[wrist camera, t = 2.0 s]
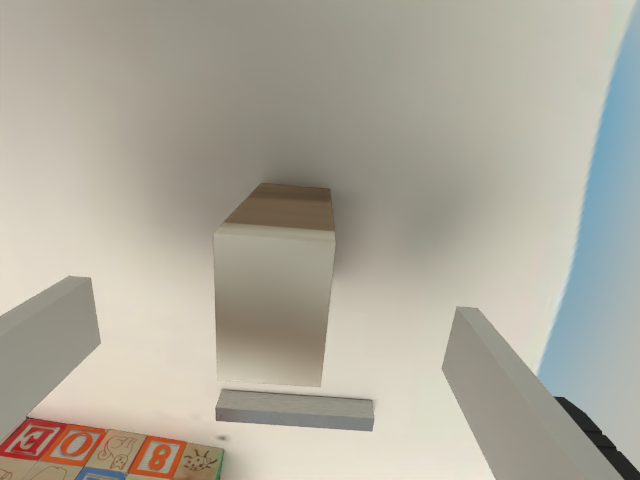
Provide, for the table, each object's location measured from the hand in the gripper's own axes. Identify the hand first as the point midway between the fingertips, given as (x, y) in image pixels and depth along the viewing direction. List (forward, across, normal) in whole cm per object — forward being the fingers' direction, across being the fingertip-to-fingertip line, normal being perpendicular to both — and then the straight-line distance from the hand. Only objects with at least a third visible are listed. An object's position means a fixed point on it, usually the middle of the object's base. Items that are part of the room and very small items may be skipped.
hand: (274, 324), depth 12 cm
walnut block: (+9, 0, +1) cm, 9 cm away
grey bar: (+9, +1, -12) cm, 15 cm away
